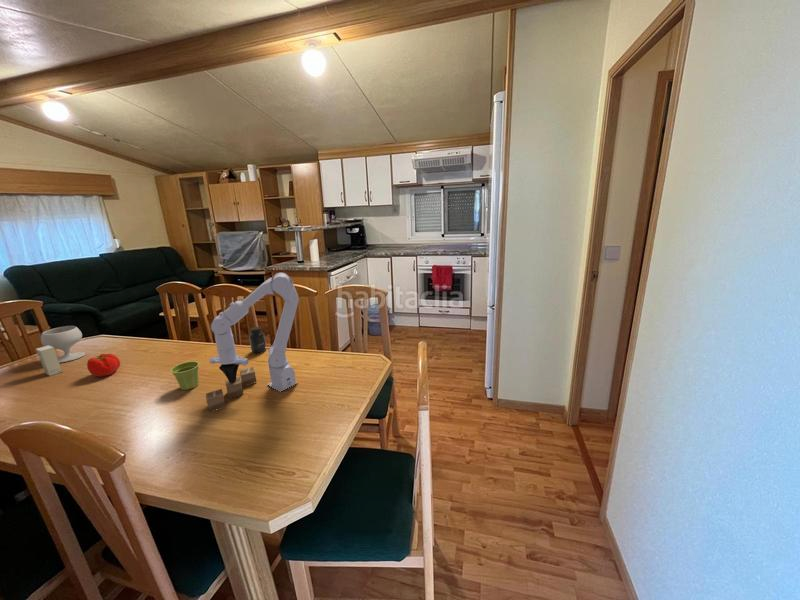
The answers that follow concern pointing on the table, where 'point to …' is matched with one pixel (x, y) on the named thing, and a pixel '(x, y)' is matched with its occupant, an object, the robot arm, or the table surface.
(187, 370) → the plant pot
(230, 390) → the plain block
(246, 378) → the block seven
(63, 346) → the chalice
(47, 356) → the skincare box
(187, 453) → the table surface
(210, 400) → the block one
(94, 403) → the table surface
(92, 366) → the tomato
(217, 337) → the robot arm
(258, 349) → the supplement bottle
